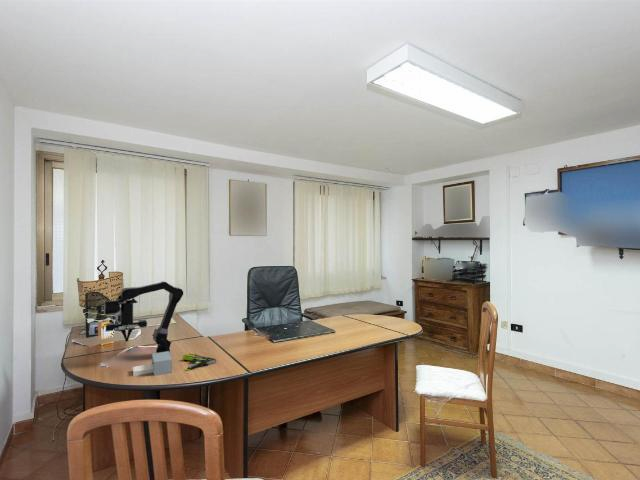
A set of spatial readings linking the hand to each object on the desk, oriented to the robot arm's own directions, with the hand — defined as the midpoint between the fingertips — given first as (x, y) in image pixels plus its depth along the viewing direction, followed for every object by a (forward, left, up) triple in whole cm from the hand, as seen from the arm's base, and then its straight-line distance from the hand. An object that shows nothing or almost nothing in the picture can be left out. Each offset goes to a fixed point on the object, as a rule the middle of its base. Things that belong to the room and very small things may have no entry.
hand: (126, 341), depth 176 cm
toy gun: (-31, +19, -13) cm, 38 cm away
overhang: (-16, +17, -12) cm, 26 cm away
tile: (-10, +16, -12) cm, 22 cm away
